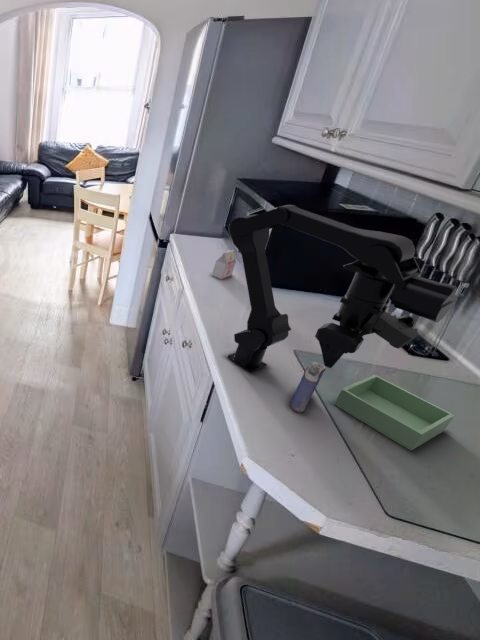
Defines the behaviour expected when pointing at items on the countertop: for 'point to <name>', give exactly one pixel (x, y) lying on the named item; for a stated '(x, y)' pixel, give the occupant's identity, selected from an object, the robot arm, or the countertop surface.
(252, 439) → the countertop surface
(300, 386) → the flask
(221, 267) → the milk carton
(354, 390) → the bin
